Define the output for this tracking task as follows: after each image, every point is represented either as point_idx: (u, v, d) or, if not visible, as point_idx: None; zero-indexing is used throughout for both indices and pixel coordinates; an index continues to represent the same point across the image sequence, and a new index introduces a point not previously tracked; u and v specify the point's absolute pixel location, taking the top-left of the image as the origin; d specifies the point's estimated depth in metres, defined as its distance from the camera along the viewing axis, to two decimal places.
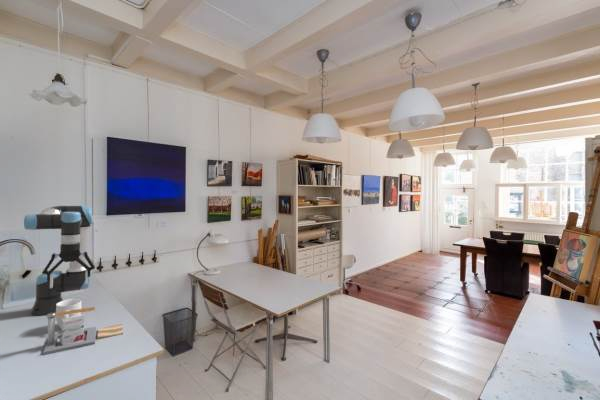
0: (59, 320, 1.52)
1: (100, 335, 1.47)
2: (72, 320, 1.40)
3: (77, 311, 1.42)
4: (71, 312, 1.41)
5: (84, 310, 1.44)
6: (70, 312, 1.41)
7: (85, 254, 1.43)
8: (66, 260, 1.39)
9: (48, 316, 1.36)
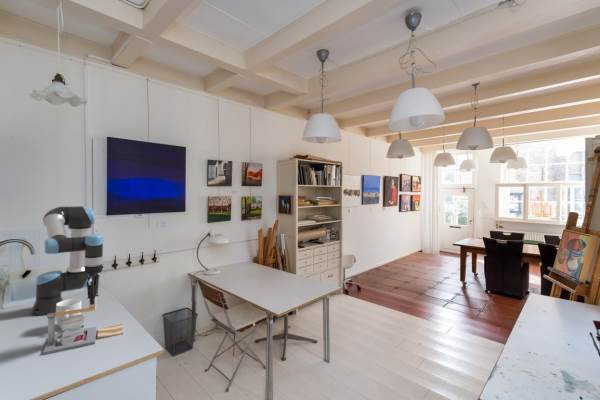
0: (59, 320, 1.52)
1: (100, 335, 1.47)
2: (72, 320, 1.40)
3: (77, 311, 1.42)
4: (71, 312, 1.41)
5: (84, 310, 1.44)
6: (70, 312, 1.41)
7: None
8: None
9: (48, 316, 1.36)
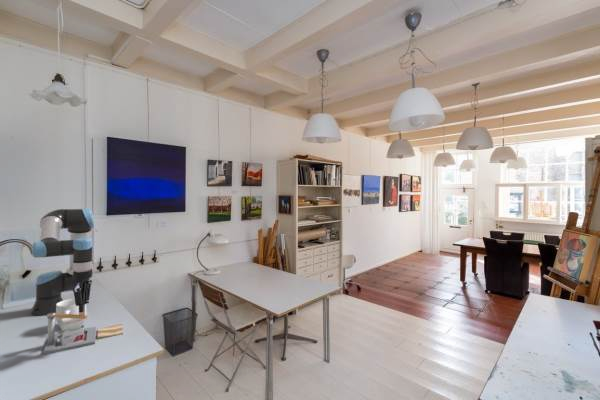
0: (59, 320, 1.52)
1: (100, 335, 1.47)
2: (72, 320, 1.40)
3: (70, 316, 1.36)
4: (65, 316, 1.36)
5: (76, 317, 1.36)
6: (65, 316, 1.36)
7: None
8: None
9: (47, 316, 1.36)
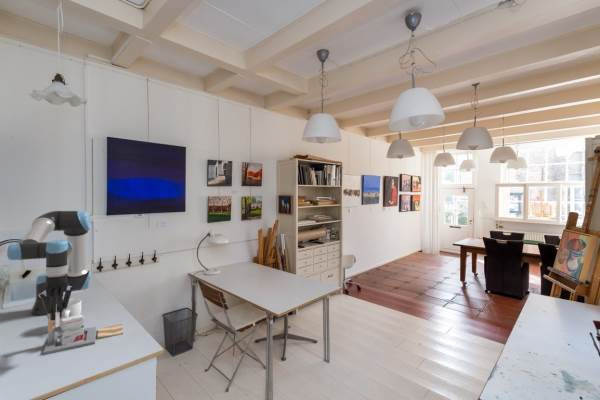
0: None
1: (100, 335, 1.47)
2: (72, 320, 1.40)
3: None
4: None
5: None
6: None
7: None
8: None
9: None
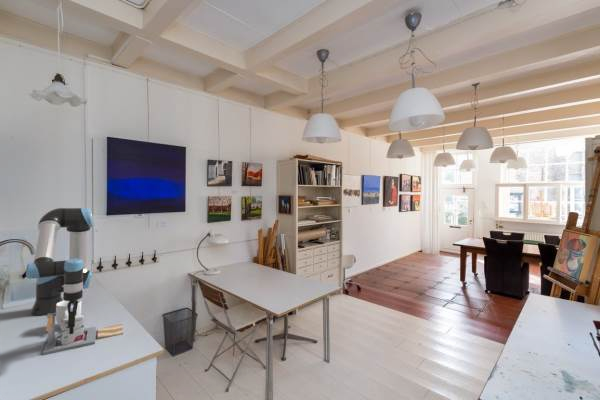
0: (59, 320, 1.52)
1: (100, 335, 1.47)
2: None
3: (47, 323, 1.29)
4: (48, 321, 1.31)
5: None
6: (48, 321, 1.31)
7: None
8: None
9: None
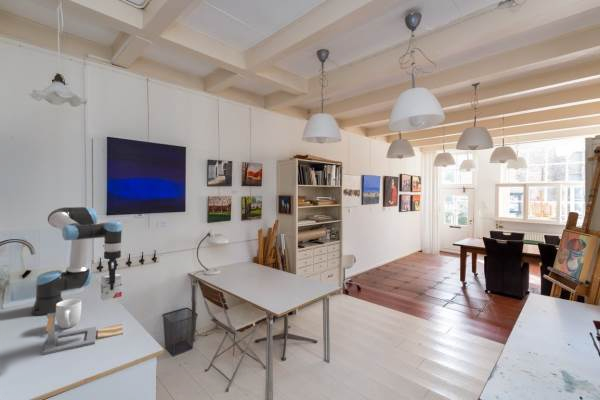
0: (59, 320, 1.52)
1: (100, 335, 1.47)
2: None
3: (47, 323, 1.29)
4: (48, 321, 1.31)
5: None
6: (48, 321, 1.31)
7: (109, 266, 1.46)
8: None
9: None
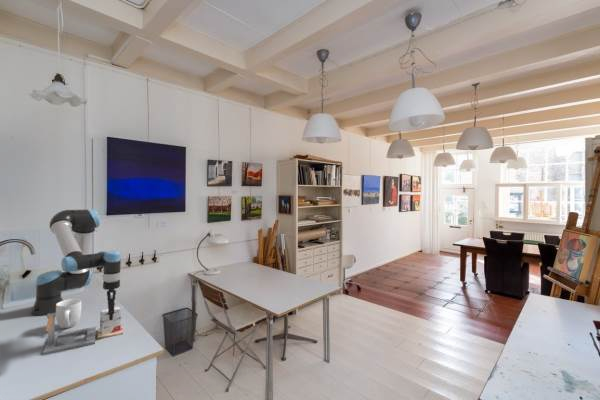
0: (59, 320, 1.52)
1: (100, 335, 1.47)
2: None
3: (47, 323, 1.29)
4: (48, 321, 1.31)
5: None
6: (48, 321, 1.31)
7: (108, 296, 1.46)
8: (108, 295, 1.52)
9: None
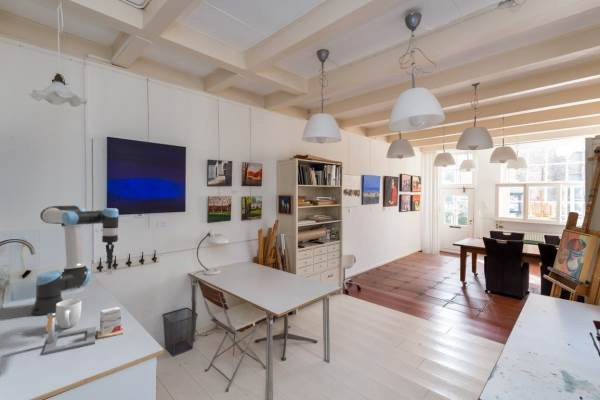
0: (59, 320, 1.52)
1: (100, 335, 1.47)
2: (111, 312, 1.49)
3: (47, 323, 1.29)
4: (48, 321, 1.31)
5: None
6: (48, 321, 1.31)
7: (107, 247, 1.59)
8: (107, 249, 1.65)
9: None
